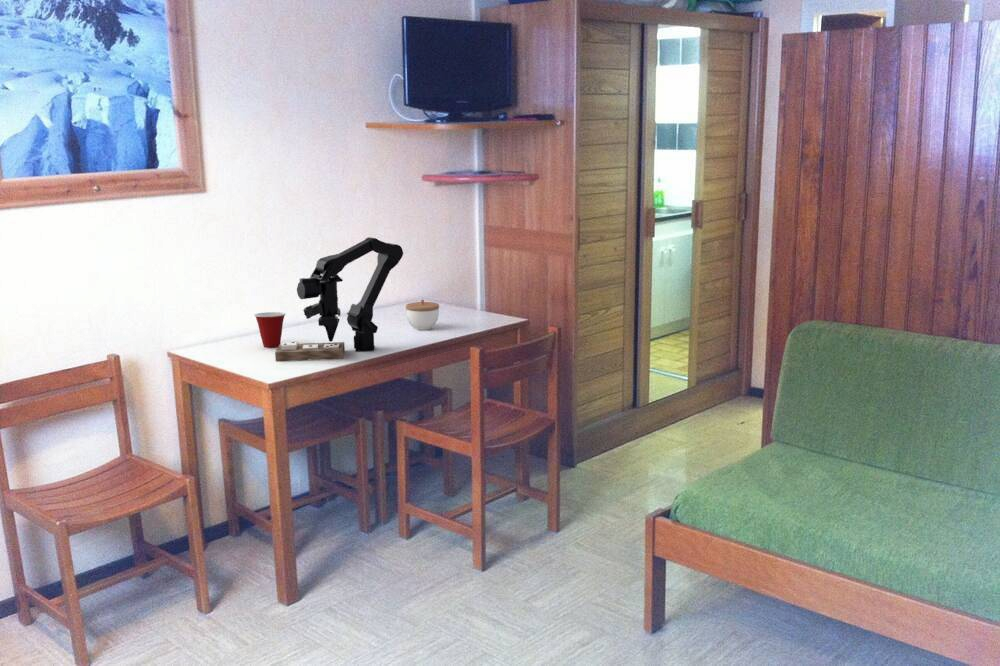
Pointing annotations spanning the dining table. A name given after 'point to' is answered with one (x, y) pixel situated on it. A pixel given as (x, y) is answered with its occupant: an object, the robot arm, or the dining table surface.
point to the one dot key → (311, 346)
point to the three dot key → (330, 346)
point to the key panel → (310, 352)
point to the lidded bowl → (422, 314)
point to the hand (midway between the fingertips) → (330, 341)
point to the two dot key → (289, 346)
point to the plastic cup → (270, 328)
